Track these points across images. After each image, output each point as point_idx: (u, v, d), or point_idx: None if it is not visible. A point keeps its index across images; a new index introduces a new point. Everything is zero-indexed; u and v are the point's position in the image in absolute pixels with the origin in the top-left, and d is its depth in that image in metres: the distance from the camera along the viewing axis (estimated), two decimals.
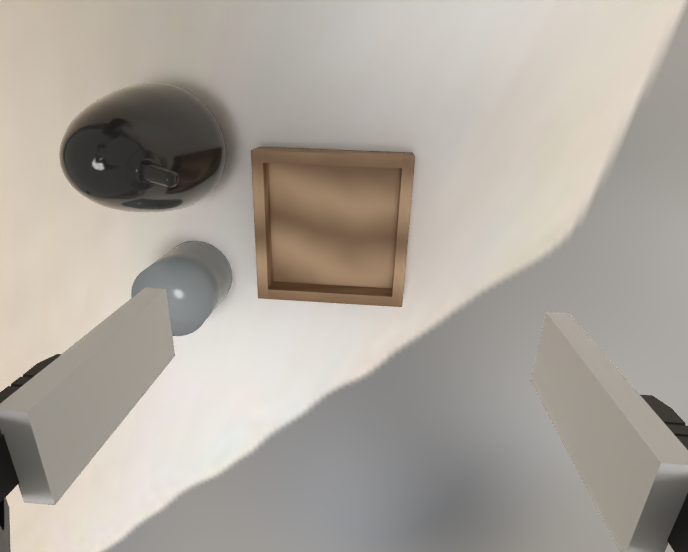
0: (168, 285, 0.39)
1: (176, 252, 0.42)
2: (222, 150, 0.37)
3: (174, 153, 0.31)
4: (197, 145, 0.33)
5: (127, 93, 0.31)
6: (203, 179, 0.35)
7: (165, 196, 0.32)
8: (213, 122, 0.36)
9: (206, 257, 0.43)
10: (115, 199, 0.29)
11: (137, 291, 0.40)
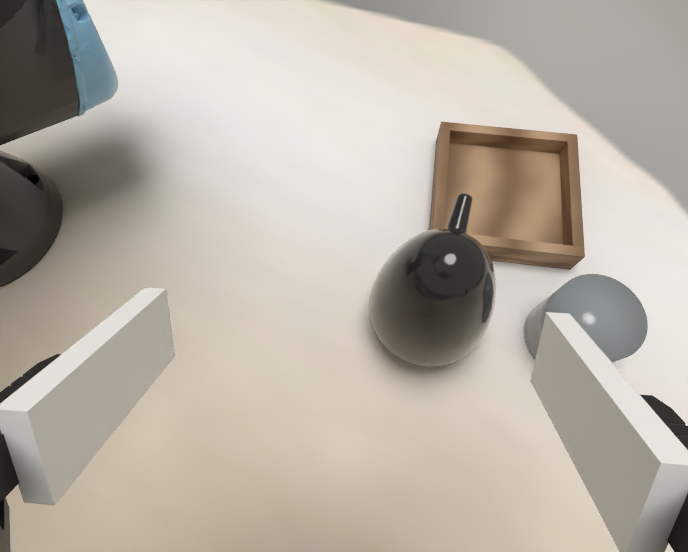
0: (580, 312, 0.35)
1: (538, 327, 0.38)
2: None
3: None
4: None
5: (382, 276, 0.34)
6: None
7: None
8: None
9: (542, 303, 0.40)
10: (485, 252, 0.29)
11: None
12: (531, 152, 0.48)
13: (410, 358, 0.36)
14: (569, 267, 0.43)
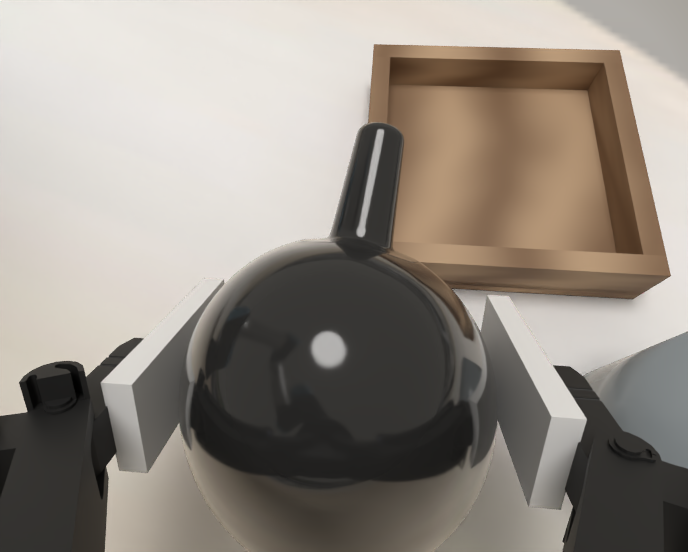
0: None
1: None
2: None
3: None
4: None
5: None
6: None
7: None
8: None
9: (594, 383, 0.18)
10: (454, 316, 0.08)
11: None
12: (538, 91, 0.27)
13: None
14: (632, 296, 0.22)
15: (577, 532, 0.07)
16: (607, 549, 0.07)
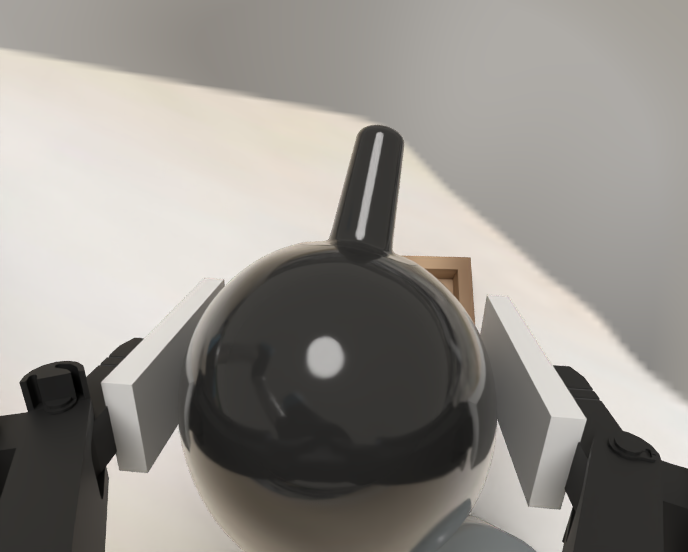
0: None
1: None
2: None
3: None
4: None
5: None
6: None
7: None
8: None
9: None
10: (453, 320, 0.08)
11: None
12: None
13: None
14: None
15: (577, 532, 0.07)
16: (608, 550, 0.07)
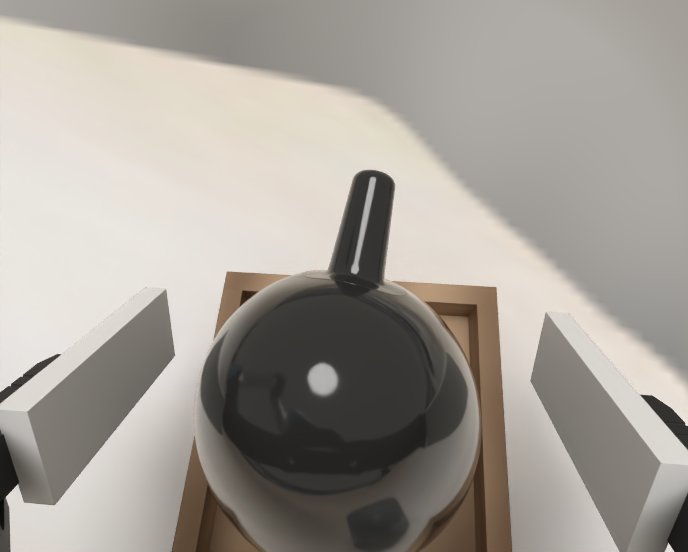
0: None
1: None
2: None
3: None
4: None
5: None
6: None
7: None
8: None
9: None
10: (434, 348, 0.09)
11: None
12: None
13: None
14: None
15: None
16: None
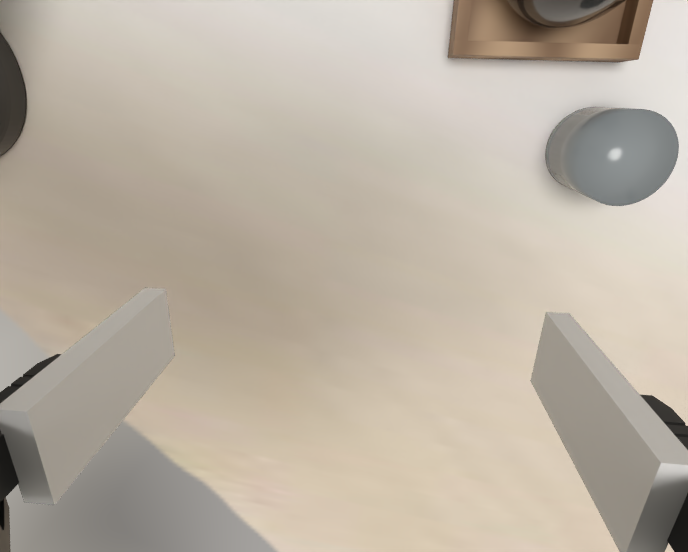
0: (605, 159, 0.33)
1: (560, 161, 0.37)
2: None
3: None
4: None
5: None
6: None
7: None
8: None
9: (569, 128, 0.36)
10: None
11: (609, 197, 0.34)
12: None
13: (546, 22, 0.31)
14: (618, 61, 0.36)
15: None
16: None
